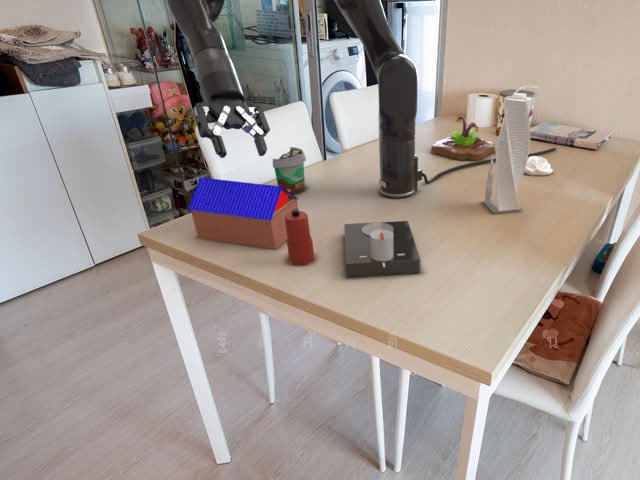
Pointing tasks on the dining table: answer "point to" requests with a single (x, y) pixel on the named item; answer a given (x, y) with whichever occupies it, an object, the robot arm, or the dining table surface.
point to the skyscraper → (510, 153)
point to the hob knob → (382, 245)
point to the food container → (291, 170)
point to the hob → (364, 265)
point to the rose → (537, 166)
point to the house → (241, 212)
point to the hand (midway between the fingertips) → (244, 155)
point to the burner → (376, 228)
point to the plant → (464, 145)
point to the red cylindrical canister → (299, 238)
